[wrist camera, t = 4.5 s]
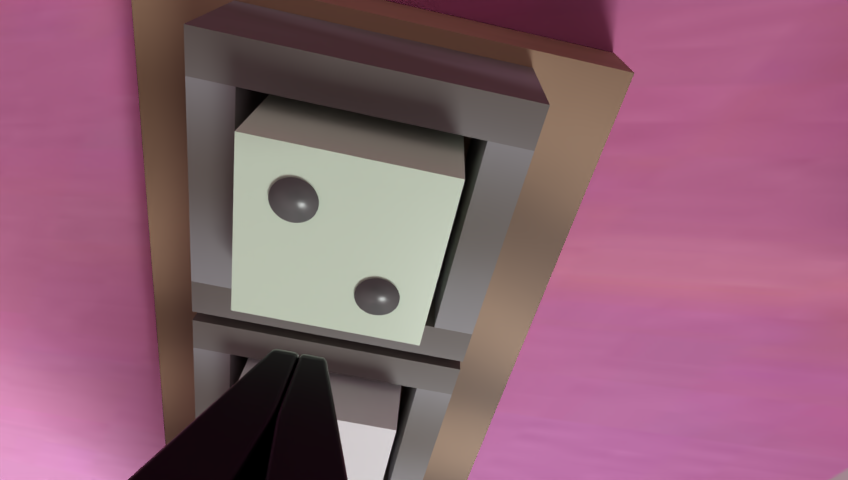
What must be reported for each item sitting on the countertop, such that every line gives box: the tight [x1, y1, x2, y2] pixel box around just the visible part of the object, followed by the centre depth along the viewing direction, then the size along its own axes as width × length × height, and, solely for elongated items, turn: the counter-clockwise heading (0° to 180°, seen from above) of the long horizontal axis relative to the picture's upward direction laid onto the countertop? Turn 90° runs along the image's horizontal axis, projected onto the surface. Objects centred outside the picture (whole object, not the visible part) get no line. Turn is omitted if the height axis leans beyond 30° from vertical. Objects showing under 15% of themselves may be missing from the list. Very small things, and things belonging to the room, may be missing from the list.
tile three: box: [239, 358, 401, 480], centre depth 16 cm, size 4×4×2 cm
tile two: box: [231, 94, 465, 346], centre depth 12 cm, size 4×4×2 cm
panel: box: [131, 0, 634, 480], centre depth 18 cm, size 23×12×5 cm, turn 168°
